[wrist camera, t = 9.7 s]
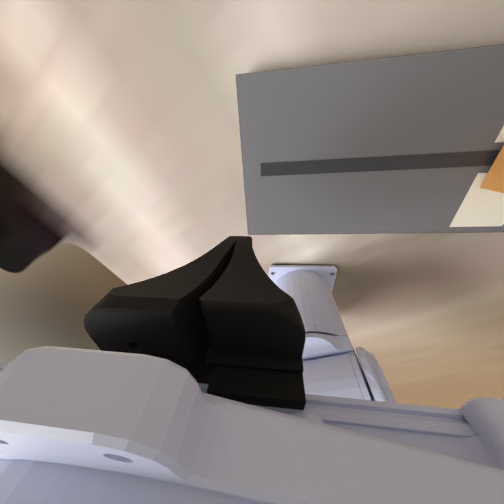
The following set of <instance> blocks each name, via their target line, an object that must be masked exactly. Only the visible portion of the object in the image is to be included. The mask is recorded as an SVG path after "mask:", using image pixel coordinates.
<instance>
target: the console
mask: <svg viewBox="0 0 504 504" xmlns="http://www.w3.org/2000/svg"><path fill="white" fill-rule="evenodd" d="M236 86H237V99H238V111H239V124H240V137H241V150H242V163H243V176H244V188H245V201H246V214H247V227H248V235H276V234H377V233H478V232H504V193H500V192H495V191H491V190H487V189H483V188H480V186H481V184H482V183H483V181H484V179H485V177H486V175H487V174H488V172H489V170H490V168H491V167H492V165H493V163H494V161H495V159H496V158H497V156H498V154H499V152H500V151H501V149H502V147H503V145H504V44H503V45H494V46H485V47H476V48H467V49H459V50H450V51H441V52H432V53H423V54H414V55H405V56H396V57H388V58H379V59H370V60H361V61H352V62H343V63H334V64H325V65H317V66H308V67H299V68H290V69H281V70H272V71H263V72H254V73H246V74H237V75H236Z"/></svg>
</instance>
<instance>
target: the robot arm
mask: <svg viewBox="0 0 504 504" xmlns="http://www.w3.org/2000/svg"><path fill="white" fill-rule="evenodd" d="M271 272H275V273H271ZM330 273H333V274H330ZM336 274H337V268H336V267H335V266H308V265H271V266H270V267H269V277H268V276H267V274H266V273H265V272H264V270H263V269H262V267H261V266H260V264H259V262H258V260H257V258H256V256H255V254H254V251H253V248H252V238H251V237H248V236H230V237H228V238H227V239H225V240H224V241H223V242H221V243H220V244H219V245H217V246H216V247H214V248H213V249H212V250H210V251H209V252H207V253H206V254H204V255H203V256H201V257H199V258H198V259H196V260H194V261H192V262H190V263H188V264H187V265H185V266H182V267H180V268H178V269H175V270H173V271H171V272H168V273H166V274H163V275H160V276H157V277H154V278H151V279H148V280H145V281H141V282H138V283H134V284H130V285H126V286H122V287H118V288H113V289H112V290H111V291H110V292H109V293H108V294H107V295H106V296H105V297H104V298H103V299H101V300H100V301H99V302H98V303H97V304H96V305H95V306H94V307H93V308H92V309H91V310H90V311H89V312H88V313H87V314H86V315H85V318H84V325H85V329H86V331H87V333H88V334H89V335H90V337H91V338H92V339H93V341H94V342H95V343H96V344H97V346H98V347H99V348H100V349H101V351H100V350H89V349H77V348H65V347H53V346H47V347H39V348H32V349H27V350H25V351H24V352H23V353H22V354H20V355H19V356H18V357H17V358H16V359H14V360H13V361H12V362H11V363H10V364H2V363H0V504H504V399H498V398H475V399H471V400H469V401H467V402H465V403H464V404H463V405H462V406H461V408H460V409H452V408H442V407H432V406H422V405H412V404H402V403H397V402H396V400H395V398H394V396H393V393H392V391H391V389H390V387H389V385H388V383H387V381H386V378H385V376H384V374H383V372H382V370H381V368H380V366H379V364H378V362H377V360H376V358H375V356H374V355H373V354H372V353H370V352H368V351H366V350H365V349H364V348H363V347H359V348H356V352H357V355H358V357H359V359H358V357H357V355H356V353H355V351H354V348H353V346H352V344H351V342H350V339H349V337H348V335H347V332H346V329H345V327H344V324H343V321H342V319H341V316H340V314H339V311H338V308H337V306H336V303H335V300H334V298H333V295H332V292H333V287H334V283H335V278H336ZM359 360H360V362H359Z"/></svg>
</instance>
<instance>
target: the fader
mask: <svg viewBox="0 0 504 504" xmlns="http://www.w3.org/2000/svg"><path fill="white" fill-rule="evenodd" d="M480 188H483V189H487V190H491V191H495V192H500V193H504V145H503V147H502V149H501V151H500V152H499V154H498V156H497V158H496V159H495V161H494V163H493V165H492V167H491V168H490V170H489V172H488V174H487V175H486V177H485V179H484V181H483V183H482V184H481V186H480Z"/></svg>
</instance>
